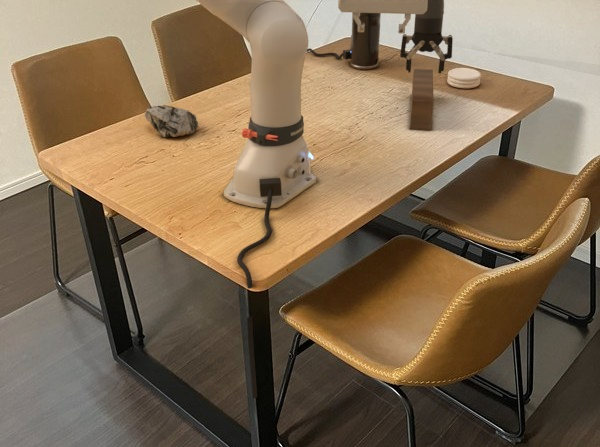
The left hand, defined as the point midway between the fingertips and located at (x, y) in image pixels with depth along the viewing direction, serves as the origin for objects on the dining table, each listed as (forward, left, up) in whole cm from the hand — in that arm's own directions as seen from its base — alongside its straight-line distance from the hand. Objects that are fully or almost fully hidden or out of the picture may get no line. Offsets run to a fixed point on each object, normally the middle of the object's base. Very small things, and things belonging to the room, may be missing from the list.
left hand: (381, 32), depth 145 cm
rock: (-15, +52, -28) cm, 61 cm away
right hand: (+32, -3, -19) cm, 37 cm away
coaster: (+50, -12, -28) cm, 58 cm away
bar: (+23, -5, -28) cm, 36 cm away
